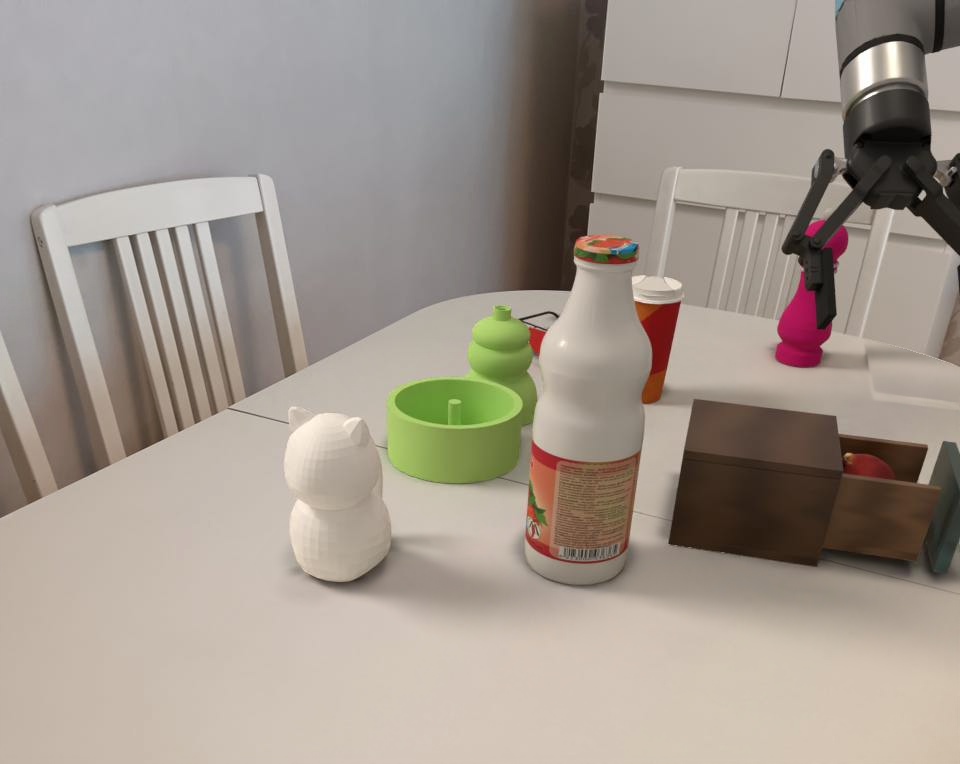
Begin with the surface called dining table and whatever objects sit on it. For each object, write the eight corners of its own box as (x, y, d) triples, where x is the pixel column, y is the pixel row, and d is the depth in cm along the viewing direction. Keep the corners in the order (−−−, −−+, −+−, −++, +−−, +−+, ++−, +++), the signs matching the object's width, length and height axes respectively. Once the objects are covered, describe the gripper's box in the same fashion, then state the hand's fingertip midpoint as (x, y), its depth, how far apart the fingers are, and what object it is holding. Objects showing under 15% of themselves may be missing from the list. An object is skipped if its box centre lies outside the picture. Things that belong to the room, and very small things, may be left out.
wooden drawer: (986, 523, 96) (1014, 449, 91) (1008, 583, 87) (1041, 504, 82) (801, 497, 99) (819, 425, 95) (804, 552, 90) (824, 475, 85)
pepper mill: (763, 361, 135) (795, 207, 124) (781, 347, 140) (813, 199, 129) (813, 372, 132) (851, 216, 121) (830, 358, 137) (868, 207, 125)
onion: (848, 502, 96) (820, 440, 92) (909, 489, 92) (883, 424, 88) (840, 542, 92) (810, 480, 88) (903, 531, 89) (875, 465, 85)
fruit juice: (593, 599, 84) (633, 265, 68) (503, 564, 88) (521, 242, 72) (643, 556, 90) (691, 240, 74) (557, 525, 95) (584, 221, 78)
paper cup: (611, 381, 127) (624, 271, 119) (670, 388, 126) (687, 277, 118) (605, 403, 121) (618, 288, 112) (667, 410, 120) (685, 295, 111)
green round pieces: (489, 494, 100) (494, 375, 92) (364, 466, 104) (359, 350, 97) (566, 410, 119) (575, 306, 111) (458, 389, 123) (460, 288, 116)
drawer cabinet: (813, 505, 100) (836, 415, 94) (817, 567, 90) (843, 470, 84) (678, 486, 102) (693, 398, 97) (667, 544, 92) (683, 449, 87)
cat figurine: (269, 583, 84) (251, 421, 76) (333, 519, 94) (323, 369, 85) (363, 604, 82) (355, 440, 73) (418, 537, 92) (418, 385, 83)
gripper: (992, 143, 95) (1012, 345, 91) (741, 136, 94) (751, 340, 91) (1038, 87, 88) (1062, 305, 84) (766, 79, 87) (778, 299, 83)
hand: (900, 324), depth 87 cm, fingers open, 13 cm apart
